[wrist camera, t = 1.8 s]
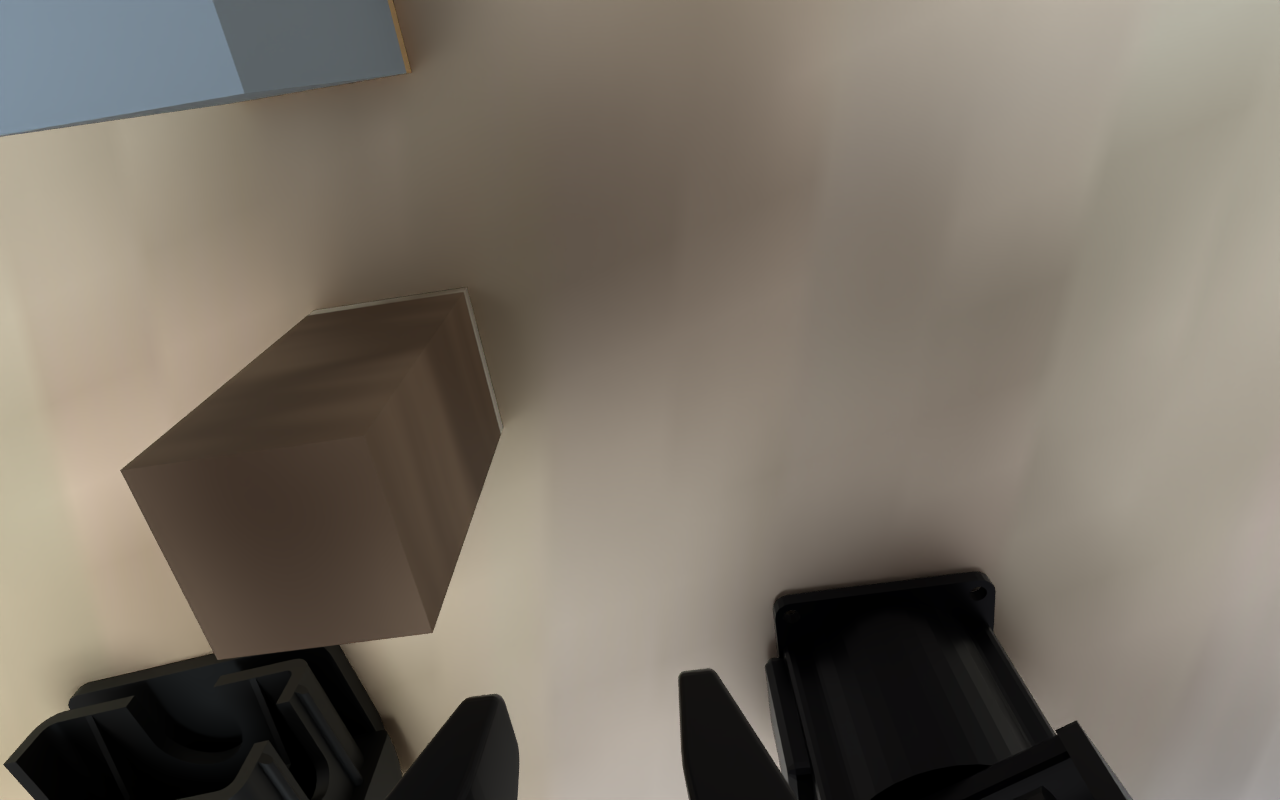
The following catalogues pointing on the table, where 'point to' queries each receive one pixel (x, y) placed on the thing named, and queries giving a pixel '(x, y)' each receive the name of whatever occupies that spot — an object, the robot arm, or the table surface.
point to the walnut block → (328, 478)
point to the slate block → (181, 55)
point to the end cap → (216, 734)
